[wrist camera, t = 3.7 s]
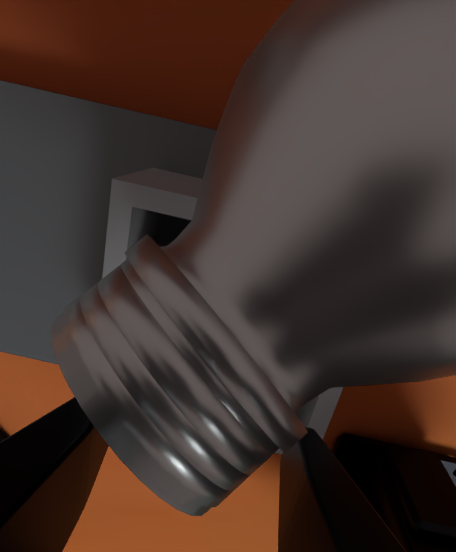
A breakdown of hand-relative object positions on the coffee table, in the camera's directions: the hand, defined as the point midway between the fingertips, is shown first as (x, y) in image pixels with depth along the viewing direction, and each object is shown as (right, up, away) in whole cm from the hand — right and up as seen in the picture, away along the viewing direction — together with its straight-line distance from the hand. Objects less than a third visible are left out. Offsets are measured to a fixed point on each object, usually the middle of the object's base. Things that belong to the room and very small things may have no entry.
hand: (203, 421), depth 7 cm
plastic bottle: (+15, +13, +1) cm, 20 cm away
